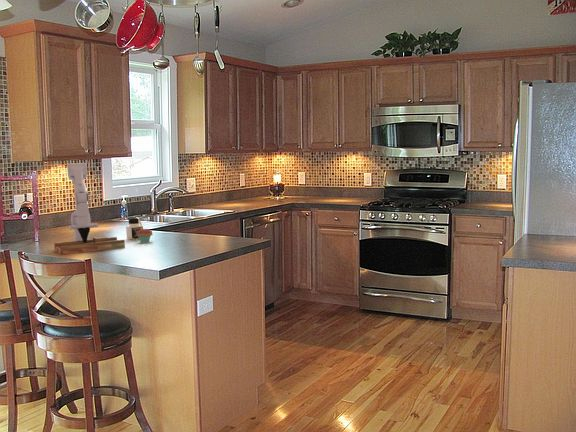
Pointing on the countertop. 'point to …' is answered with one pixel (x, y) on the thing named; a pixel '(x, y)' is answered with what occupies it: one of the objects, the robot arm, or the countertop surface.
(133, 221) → the medicine bottle
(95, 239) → the walnut block
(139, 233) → the cupcake
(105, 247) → the box
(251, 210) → the countertop surface
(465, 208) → the countertop surface
